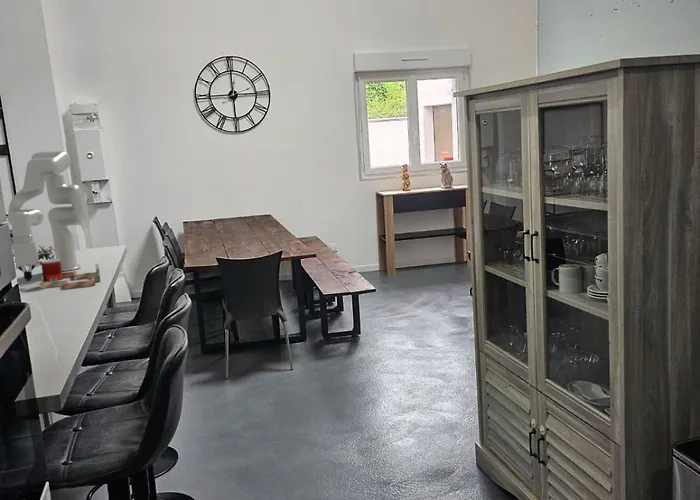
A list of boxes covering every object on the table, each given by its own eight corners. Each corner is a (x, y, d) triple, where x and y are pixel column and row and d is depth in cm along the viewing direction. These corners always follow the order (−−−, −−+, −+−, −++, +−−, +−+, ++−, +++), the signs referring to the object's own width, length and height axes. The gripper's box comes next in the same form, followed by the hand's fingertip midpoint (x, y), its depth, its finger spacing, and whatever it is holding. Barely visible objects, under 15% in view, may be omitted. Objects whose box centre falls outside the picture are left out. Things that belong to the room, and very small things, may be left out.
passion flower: (54, 271, 352) (56, 255, 345) (31, 270, 347) (33, 254, 340) (54, 257, 360) (56, 241, 353) (32, 256, 355) (34, 240, 348)
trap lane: (39, 292, 276) (38, 278, 275) (43, 279, 303) (41, 267, 302) (101, 284, 285) (99, 271, 284) (99, 273, 312) (97, 261, 311)
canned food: (67, 282, 294) (64, 258, 292) (53, 286, 286) (50, 262, 284) (53, 282, 296) (50, 258, 294) (40, 286, 289) (37, 262, 287)
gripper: (3, 242, 278) (9, 284, 281) (41, 239, 283) (46, 279, 286) (4, 240, 285) (10, 281, 288) (42, 236, 290) (47, 276, 293)
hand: (28, 280), depth 287 cm, fingers closed
